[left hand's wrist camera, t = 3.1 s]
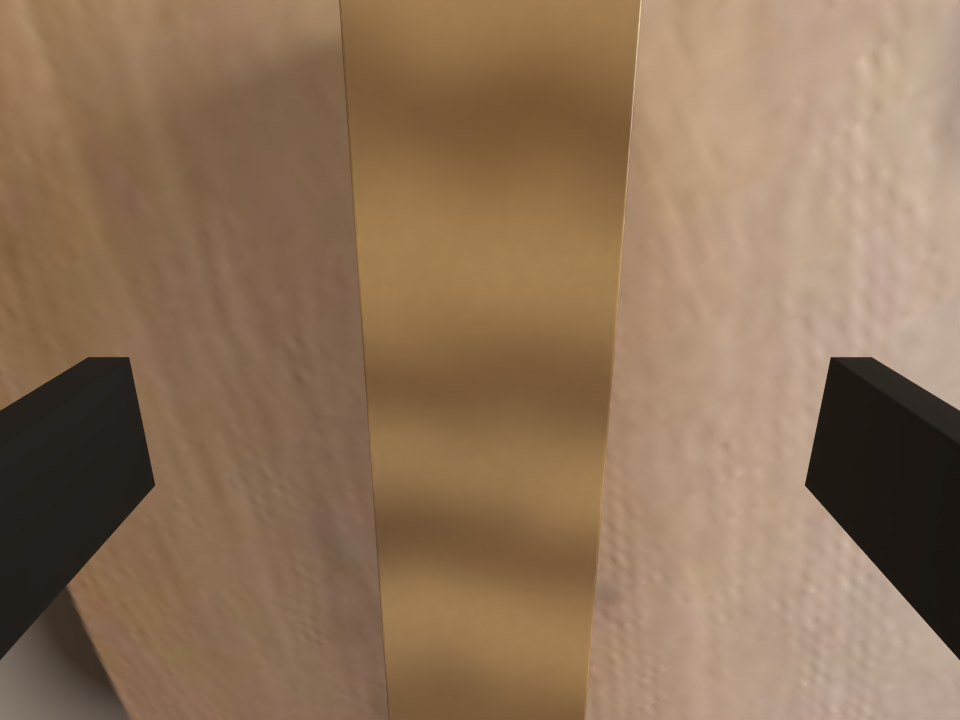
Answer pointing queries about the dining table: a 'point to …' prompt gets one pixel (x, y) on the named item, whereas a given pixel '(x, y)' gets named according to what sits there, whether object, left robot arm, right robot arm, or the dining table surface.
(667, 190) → the dining table surface
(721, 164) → the dining table surface
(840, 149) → the dining table surface
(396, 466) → the post
